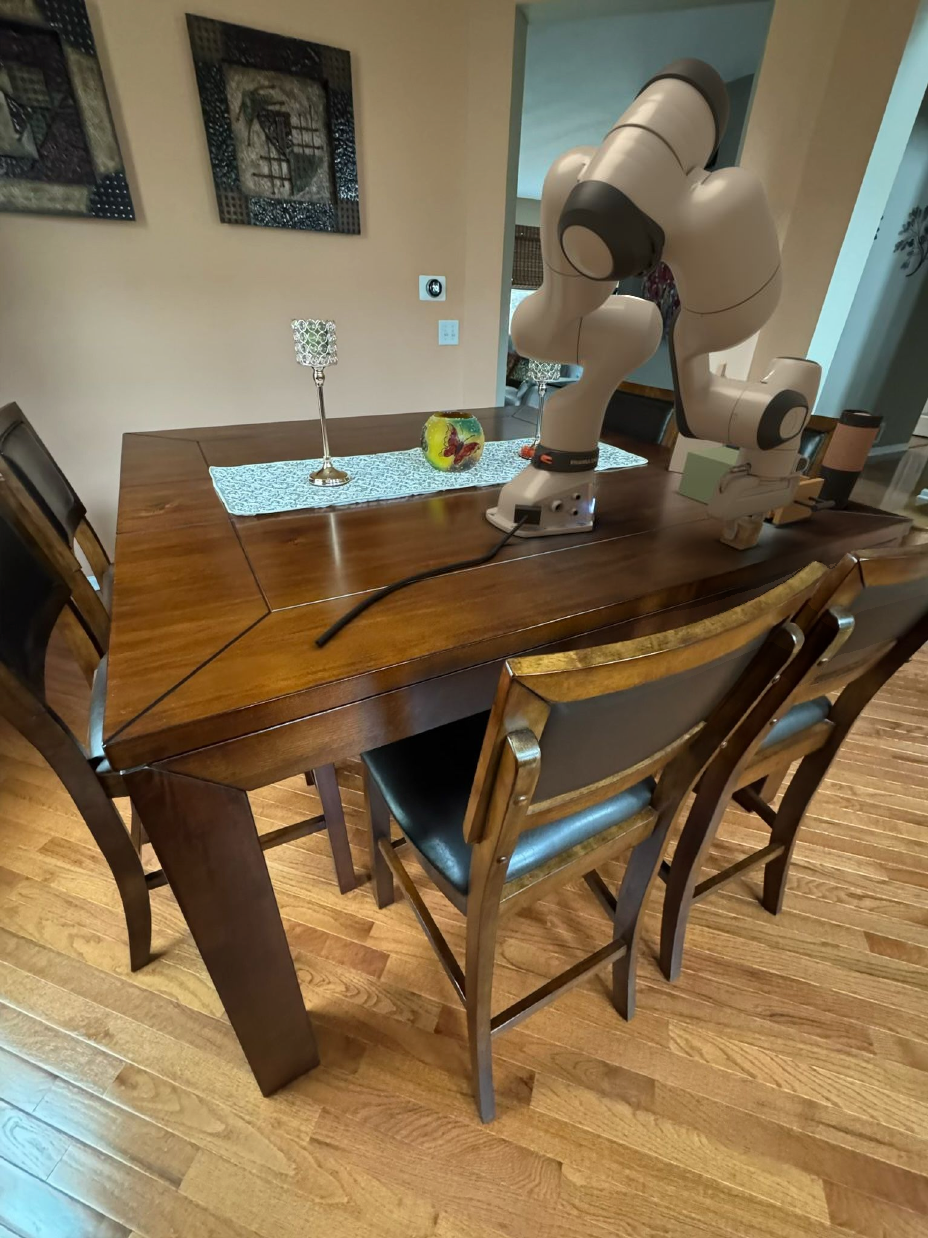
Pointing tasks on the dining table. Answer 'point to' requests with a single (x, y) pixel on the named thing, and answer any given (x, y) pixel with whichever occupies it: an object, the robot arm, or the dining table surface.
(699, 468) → the cabinet
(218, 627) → the dining table surface
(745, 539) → the block
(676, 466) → the milk
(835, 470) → the travel mug
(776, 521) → the drawer
